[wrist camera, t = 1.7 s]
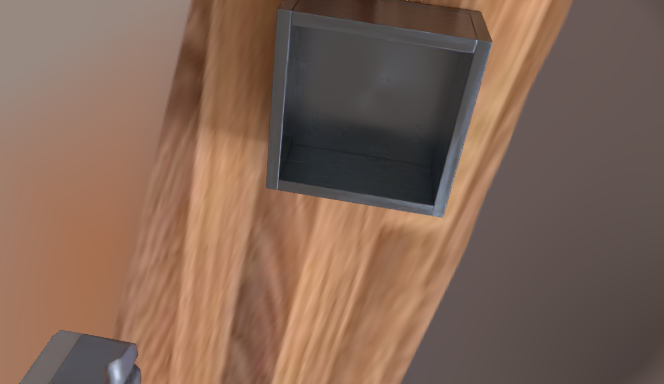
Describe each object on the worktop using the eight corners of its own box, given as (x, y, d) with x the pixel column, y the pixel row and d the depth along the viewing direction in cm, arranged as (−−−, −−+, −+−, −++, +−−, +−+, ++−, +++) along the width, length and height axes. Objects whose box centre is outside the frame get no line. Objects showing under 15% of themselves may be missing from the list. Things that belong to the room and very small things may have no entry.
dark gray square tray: (282, 146, 41) (265, 188, 36) (295, -17, 35) (277, 8, 30) (439, 171, 41) (443, 218, 36) (481, 11, 35) (492, 41, 30)
